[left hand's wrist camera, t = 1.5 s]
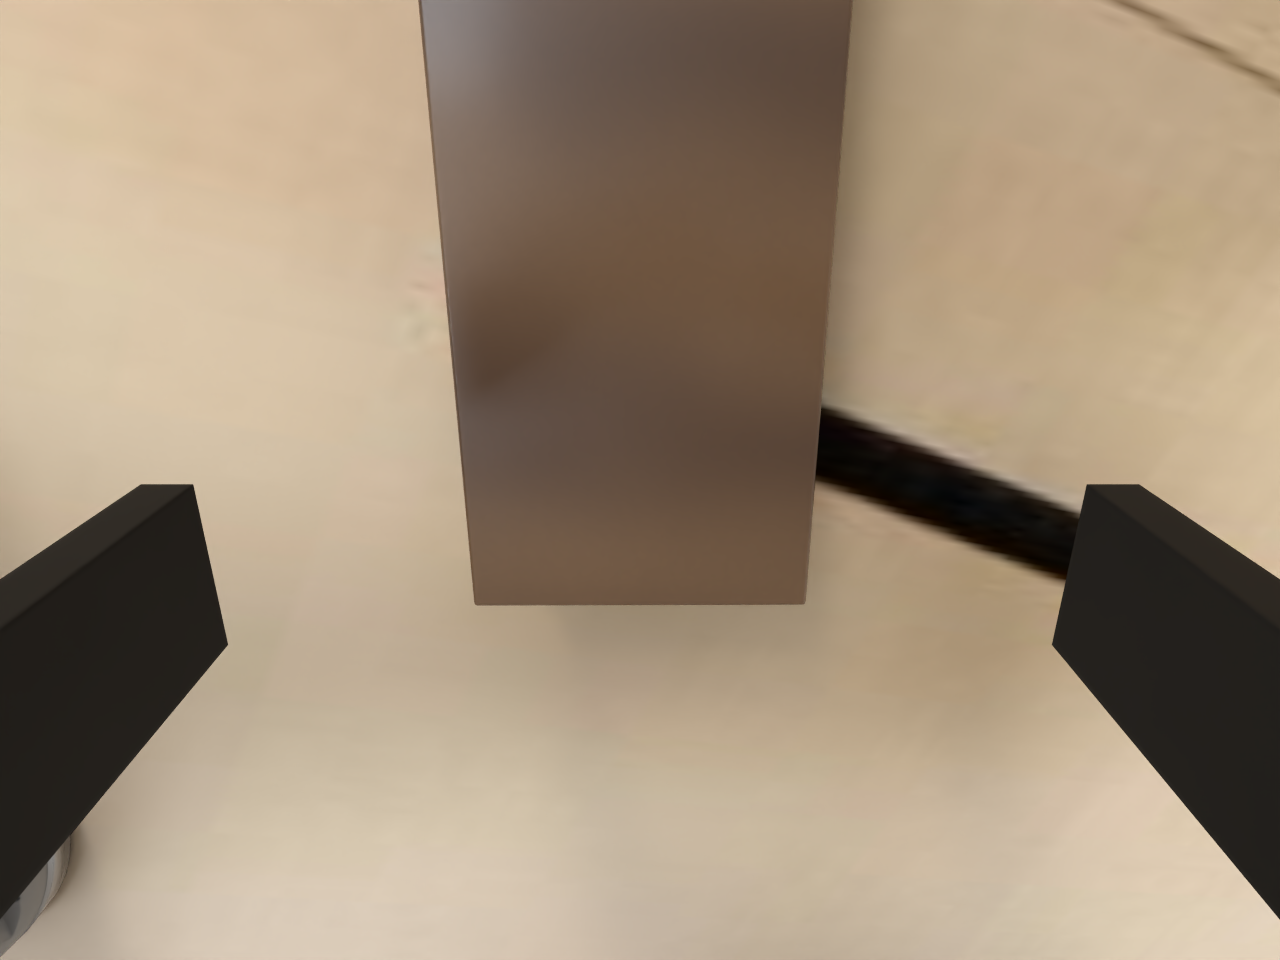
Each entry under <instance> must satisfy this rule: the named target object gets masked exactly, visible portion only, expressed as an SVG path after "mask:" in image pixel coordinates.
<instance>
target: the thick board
mask: <svg viewBox="0 0 1280 960" xmlns="http://www.w3.org/2000/svg"><path fill="white" fill-rule="evenodd" d="M418 2H419V12H420V23H421V34H422V45H423V55H424V66H425V77H426V88H427V98H428V109H429V120H430V131H431V141H432V152H433V163H434V174H435V185H436V195H437V206H438V217H439V228H440V238H441V249H442V260H443V271H444V281H445V292H446V303H447V314H448V325H449V335H450V346H451V357H452V368H453V378H454V389H455V400H456V411H457V421H458V432H459V443H460V454H461V464H462V475H463V486H464V497H465V508H466V518H467V529H468V540H469V551H470V561H471V572H472V583H473V594H474V602H475V605H781V604H804V603H805V601H806V590H807V577H808V564H809V552H810V539H811V526H812V513H813V501H814V488H815V475H816V463H817V450H818V437H819V424H820V412H821V399H822V386H823V374H824V361H825V348H826V335H827V323H828V310H829V297H830V285H831V272H832V259H833V247H834V234H835V221H836V208H837V196H838V183H839V170H840V158H841V145H842V132H843V119H844V107H845V94H846V81H847V69H848V56H849V43H850V30H851V18H852V5H853V0H418Z"/></svg>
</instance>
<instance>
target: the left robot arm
mask: <svg viewBox="0 0 1280 960" xmlns="http://www.w3.org/2000/svg"><path fill="white" fill-rule="evenodd" d="M227 645H228V642H227V638H226V633H225V629H224V624H223V619H222V615H221V610H220V606H219V601H218V596H217V592H216V587H215V583H214V578H213V573H212V569H211V564H210V560H209V555H208V550H207V546H206V541H205V537H204V532H203V528H202V523H201V518H200V514H199V509H198V505H197V500H196V495H195V491H194V486H193V484H141V485H139V486H138V487H136V488H135V489H134V490H132V491H131V492H129V493H128V494H126V495H125V496H123V497H122V498H120V499H119V500H117V501H116V502H114V503H113V504H111V505H110V506H108V507H107V508H105V509H104V510H102V511H101V512H99V513H98V514H96V515H95V516H93V517H92V518H91V519H89V520H88V521H86V522H85V523H83V524H82V525H80V526H79V527H77V528H76V529H74V530H73V531H71V532H70V533H68V534H67V535H65V536H64V537H62V538H61V539H59V540H58V541H56V542H55V543H53V544H52V545H50V546H49V547H47V548H46V549H45V550H43V551H42V552H40V553H39V554H37V555H36V556H34V557H33V558H31V559H30V560H28V561H27V562H25V563H24V564H22V565H21V566H19V567H18V568H16V569H15V570H13V571H12V572H10V573H9V574H7V575H6V576H4V577H3V578H2V579H0V957H1V956H2V955H3V954H4V953H5V952H6V951H7V950H8V949H9V948H10V947H11V946H12V945H13V944H14V943H15V942H16V941H17V940H18V939H19V938H20V937H21V936H22V935H23V934H24V933H25V932H26V931H27V930H28V929H29V928H30V926H31V925H32V924H33V923H34V921H35V920H36V919H37V918H38V916H39V915H40V914H41V913H42V911H43V910H44V909H45V907H46V906H47V905H48V904H49V902H50V901H51V900H52V898H53V897H54V896H55V895H56V893H57V891H58V889H59V888H60V886H61V884H62V882H63V879H64V877H65V874H66V871H67V867H68V863H69V857H70V835H71V833H72V832H73V831H74V830H75V829H76V827H77V826H78V825H79V824H80V823H81V821H82V820H83V819H84V818H85V817H86V815H87V814H88V813H89V812H90V811H91V809H92V808H93V807H94V806H95V805H96V803H97V802H98V801H99V800H100V798H101V797H102V796H103V795H104V794H105V792H106V791H107V790H108V789H109V788H110V786H111V785H112V784H113V783H114V782H115V780H116V779H117V778H118V777H119V776H120V774H121V773H122V772H123V771H124V770H125V768H126V767H127V766H128V765H129V764H130V762H131V761H132V760H133V759H134V757H135V756H136V755H137V754H138V753H139V751H140V750H141V749H142V748H143V747H144V745H145V744H146V743H147V742H148V741H149V739H150V738H151V737H152V736H153V735H154V733H155V732H156V731H157V730H158V729H159V727H160V726H161V725H162V724H163V723H164V721H165V720H166V719H167V718H168V716H169V715H170V714H171V713H172V712H173V710H174V709H175V708H176V707H177V706H178V704H179V703H180V702H181V701H182V700H183V698H184V697H185V696H186V695H187V694H188V692H189V691H190V690H191V689H192V688H193V686H194V685H195V684H196V683H197V682H198V680H199V679H200V678H201V677H202V675H203V674H204V673H205V672H206V671H207V669H208V668H209V667H210V666H211V665H212V663H213V662H214V661H215V660H216V659H217V657H218V656H219V655H220V654H221V653H222V651H223V650H224V649H225V648H226V647H227ZM1052 645H1053V647H1054V648H1055V649H1056V650H1057V651H1058V653H1059V654H1060V655H1061V656H1062V657H1063V659H1064V660H1065V661H1066V662H1067V663H1068V665H1069V666H1070V667H1071V668H1072V669H1073V671H1074V672H1075V673H1076V674H1077V675H1078V677H1079V678H1080V679H1081V680H1082V682H1083V683H1084V684H1085V685H1086V686H1087V688H1088V689H1089V690H1090V691H1091V692H1092V694H1093V695H1094V696H1095V697H1096V698H1097V700H1098V701H1099V702H1100V703H1101V704H1102V706H1103V707H1104V708H1105V709H1106V710H1107V712H1108V713H1109V714H1110V715H1111V716H1112V718H1113V719H1114V720H1115V721H1116V723H1117V724H1118V725H1119V726H1120V727H1121V729H1122V730H1123V731H1124V732H1125V733H1126V735H1127V736H1128V737H1129V738H1130V739H1131V741H1132V742H1133V743H1134V744H1135V745H1136V747H1137V748H1138V749H1139V750H1140V751H1141V753H1142V754H1143V755H1144V756H1145V757H1146V759H1147V760H1148V761H1149V762H1150V764H1151V765H1152V766H1153V767H1154V768H1155V770H1156V771H1157V772H1158V773H1159V774H1160V776H1161V777H1162V778H1163V779H1164V780H1165V782H1166V783H1167V784H1168V785H1169V786H1170V788H1171V789H1172V790H1173V791H1174V792H1175V794H1176V795H1177V796H1178V797H1179V798H1180V800H1181V801H1182V802H1183V803H1184V805H1185V806H1186V807H1187V808H1188V809H1189V811H1190V812H1191V813H1192V814H1193V815H1194V817H1195V818H1196V819H1197V820H1198V821H1199V823H1200V824H1201V825H1202V826H1203V827H1204V829H1205V830H1206V831H1207V832H1208V833H1209V835H1210V836H1211V837H1212V838H1213V839H1214V841H1215V842H1216V843H1217V844H1218V846H1219V847H1220V848H1221V849H1222V850H1223V852H1224V853H1225V854H1226V855H1227V856H1228V858H1229V859H1230V860H1231V861H1232V862H1233V864H1234V865H1235V866H1236V867H1237V868H1238V870H1239V871H1240V872H1241V873H1242V874H1243V876H1244V877H1245V878H1246V879H1247V880H1248V882H1249V883H1250V884H1251V885H1252V886H1253V888H1254V889H1255V890H1256V891H1257V893H1258V894H1259V895H1260V896H1261V897H1262V899H1263V900H1264V901H1265V902H1266V903H1267V905H1268V906H1269V907H1270V908H1271V909H1272V911H1273V912H1274V913H1275V914H1276V915H1277V917H1278V918H1279V919H1280V579H1278V578H1277V577H1276V576H1274V575H1273V574H1271V573H1270V572H1268V571H1267V570H1265V569H1264V568H1262V567H1261V566H1259V565H1258V564H1256V563H1255V562H1253V561H1252V560H1250V559H1249V558H1247V557H1246V556H1244V555H1243V554H1241V553H1240V552H1238V551H1237V550H1235V549H1234V548H1233V547H1231V546H1230V545H1228V544H1227V543H1225V542H1224V541H1222V540H1221V539H1219V538H1218V537H1216V536H1215V535H1213V534H1212V533H1210V532H1209V531H1207V530H1206V529H1204V528H1203V527H1201V526H1200V525H1198V524H1197V523H1195V522H1194V521H1192V520H1191V519H1189V518H1188V517H1187V516H1185V515H1184V514H1182V513H1181V512H1179V511H1178V510H1176V509H1175V508H1173V507H1172V506H1170V505H1169V504H1167V503H1166V502H1164V501H1163V500H1161V499H1160V498H1158V497H1157V496H1155V495H1154V494H1152V493H1151V492H1149V491H1148V490H1146V489H1145V488H1144V487H1142V486H1141V485H1139V484H1087V486H1086V491H1085V495H1084V500H1083V505H1082V509H1081V514H1080V518H1079V523H1078V528H1077V532H1076V537H1075V541H1074V546H1073V550H1072V555H1071V560H1070V564H1069V569H1068V573H1067V578H1066V583H1065V587H1064V592H1063V596H1062V601H1061V606H1060V610H1059V615H1058V619H1057V624H1056V629H1055V633H1054V638H1053V642H1052Z"/></svg>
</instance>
